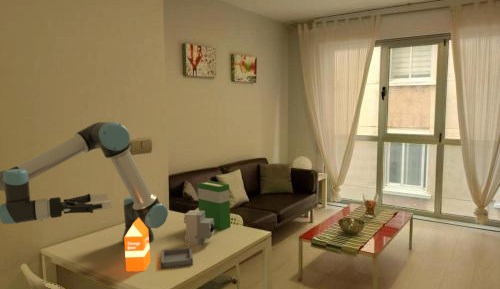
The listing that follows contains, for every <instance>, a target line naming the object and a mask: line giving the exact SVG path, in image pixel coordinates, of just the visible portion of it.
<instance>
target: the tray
mask: <svg viewBox="0 0 500 289" xmlns="http://www.w3.org/2000/svg"><path fill="white" fill-rule="evenodd" d="M160 261H161V262H160V266H161V268H160V269H163V270H164V269H171V268H180V267H187V266H193V265H194V261H193V251H192V247H191V246H187V247H180V248H169V249H168V248H167V249H162V250H161V260H160Z"/></svg>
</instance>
